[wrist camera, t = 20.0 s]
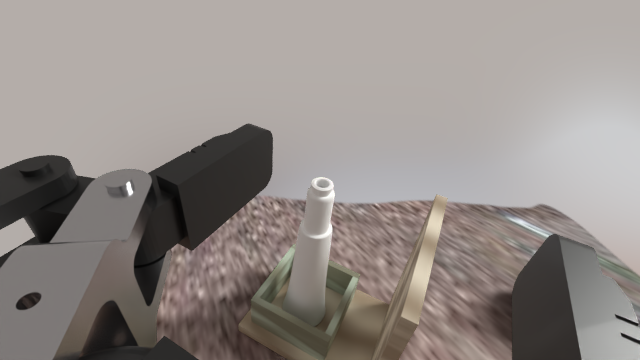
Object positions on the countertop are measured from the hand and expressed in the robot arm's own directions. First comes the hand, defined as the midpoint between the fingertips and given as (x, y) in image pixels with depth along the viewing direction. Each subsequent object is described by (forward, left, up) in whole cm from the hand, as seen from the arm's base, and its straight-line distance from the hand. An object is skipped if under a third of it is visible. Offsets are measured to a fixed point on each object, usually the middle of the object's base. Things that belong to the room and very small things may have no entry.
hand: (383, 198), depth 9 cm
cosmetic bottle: (-5, -16, -35) cm, 39 cm away
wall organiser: (-7, -14, -36) cm, 39 cm away
